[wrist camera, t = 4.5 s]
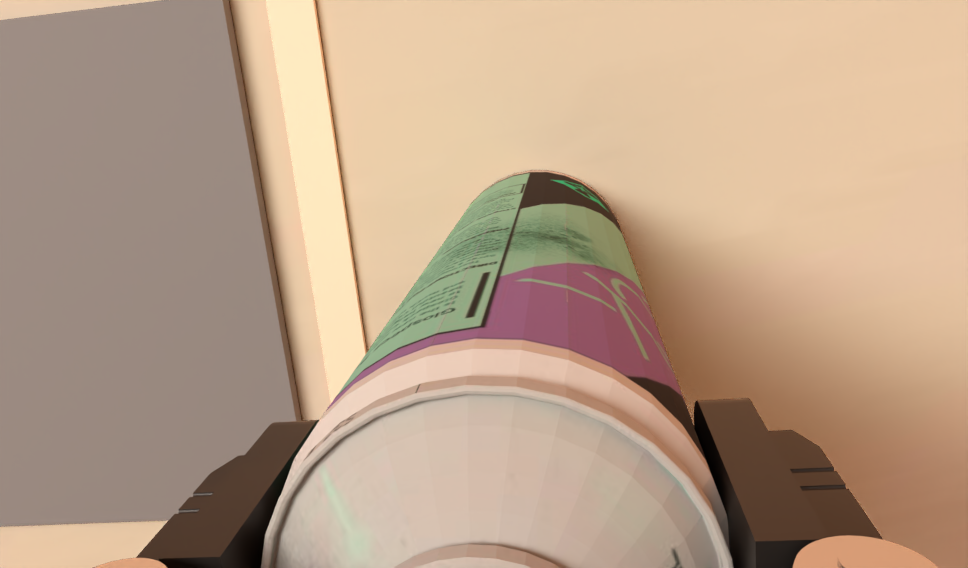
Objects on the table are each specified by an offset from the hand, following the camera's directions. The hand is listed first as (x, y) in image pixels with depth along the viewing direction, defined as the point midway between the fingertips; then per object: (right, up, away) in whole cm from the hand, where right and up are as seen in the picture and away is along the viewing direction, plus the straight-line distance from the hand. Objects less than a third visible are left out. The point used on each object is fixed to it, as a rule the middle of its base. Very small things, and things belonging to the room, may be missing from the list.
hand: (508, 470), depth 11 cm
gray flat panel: (-15, +3, +16) cm, 22 cm away
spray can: (+1, +4, +14) cm, 15 cm away
